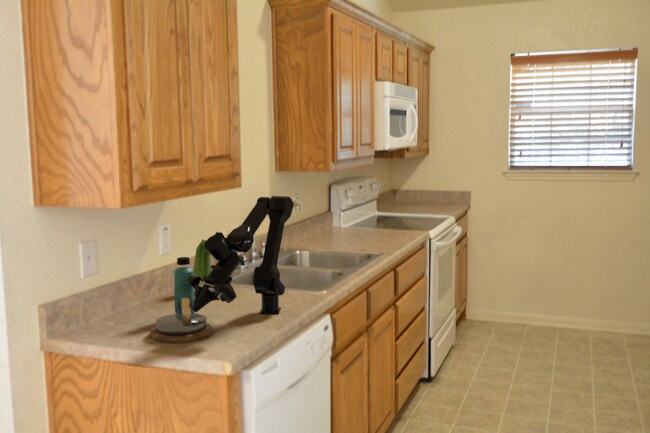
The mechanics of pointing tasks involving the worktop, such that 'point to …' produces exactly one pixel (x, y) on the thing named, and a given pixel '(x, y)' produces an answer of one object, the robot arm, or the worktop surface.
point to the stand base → (181, 336)
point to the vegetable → (202, 261)
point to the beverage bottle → (182, 284)
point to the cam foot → (181, 321)
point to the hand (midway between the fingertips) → (194, 311)
